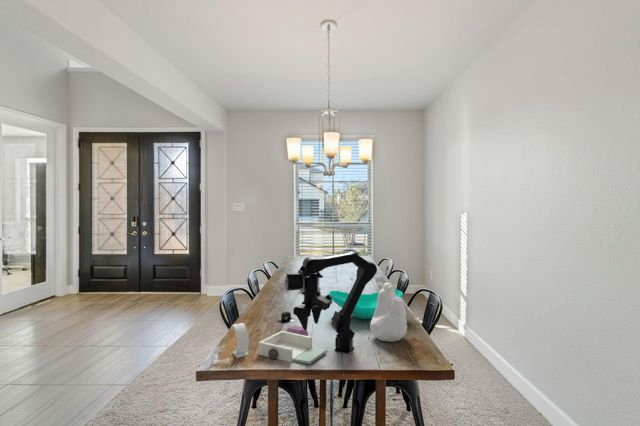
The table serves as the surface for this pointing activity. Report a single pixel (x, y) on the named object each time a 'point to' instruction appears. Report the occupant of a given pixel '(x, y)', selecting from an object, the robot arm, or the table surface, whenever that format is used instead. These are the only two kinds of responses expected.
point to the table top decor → (360, 303)
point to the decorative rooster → (389, 316)
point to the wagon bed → (284, 346)
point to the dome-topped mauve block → (297, 330)
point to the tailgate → (310, 355)
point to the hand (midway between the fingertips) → (310, 326)
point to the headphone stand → (241, 340)
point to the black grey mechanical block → (284, 319)
